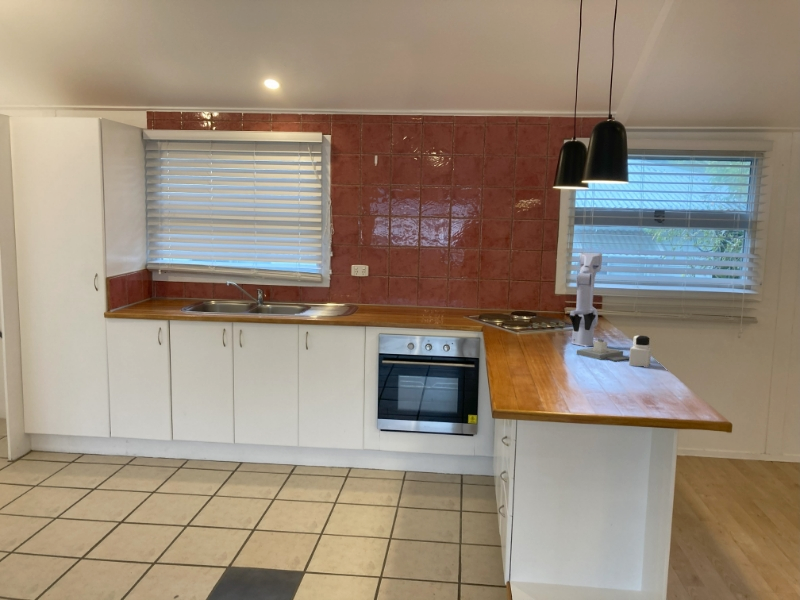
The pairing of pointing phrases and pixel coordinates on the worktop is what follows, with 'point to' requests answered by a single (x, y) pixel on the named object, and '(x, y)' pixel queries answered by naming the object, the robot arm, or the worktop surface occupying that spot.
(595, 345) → the charger
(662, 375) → the worktop surface
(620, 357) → the phone
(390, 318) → the worktop surface
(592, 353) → the plate
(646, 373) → the worktop surface
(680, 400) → the worktop surface
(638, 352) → the medicine bottle
